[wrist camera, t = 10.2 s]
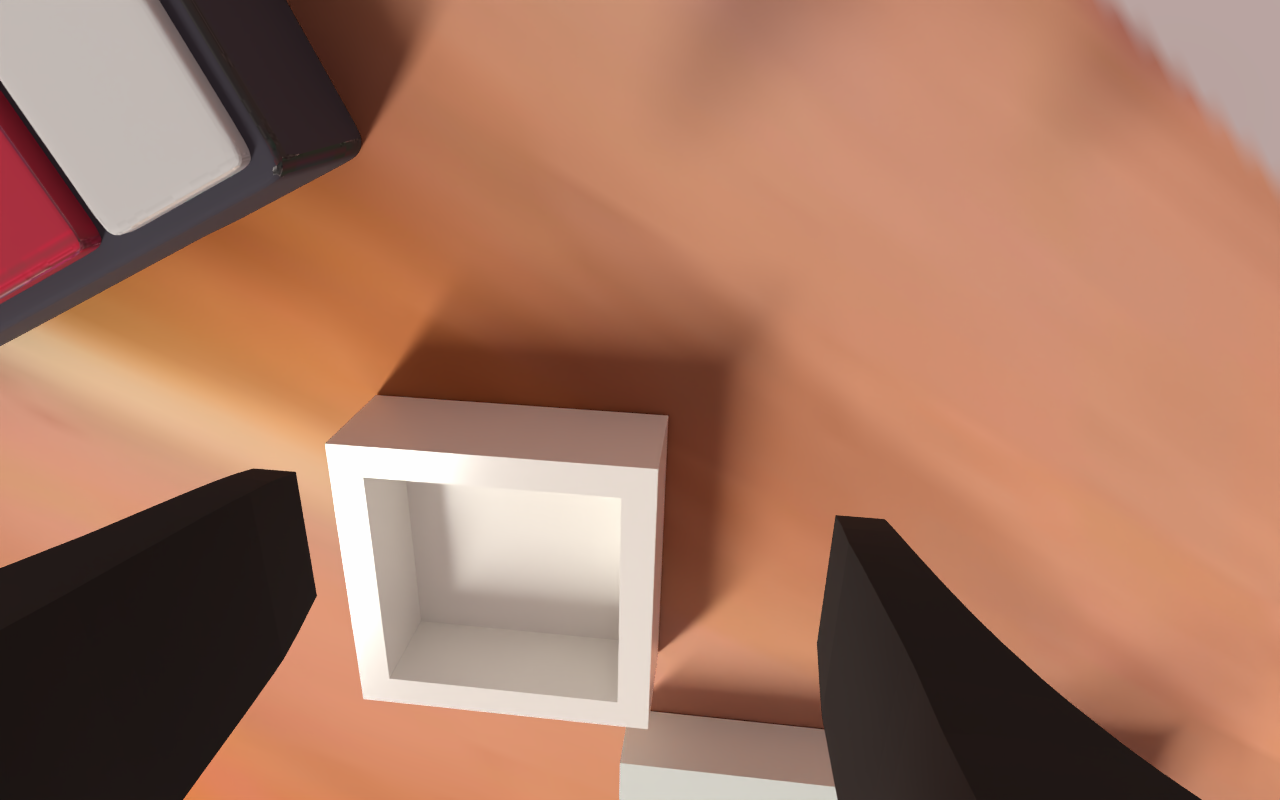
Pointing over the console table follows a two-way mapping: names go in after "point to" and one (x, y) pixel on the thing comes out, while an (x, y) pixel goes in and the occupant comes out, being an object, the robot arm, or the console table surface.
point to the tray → (724, 761)
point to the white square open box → (503, 555)
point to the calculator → (146, 136)
